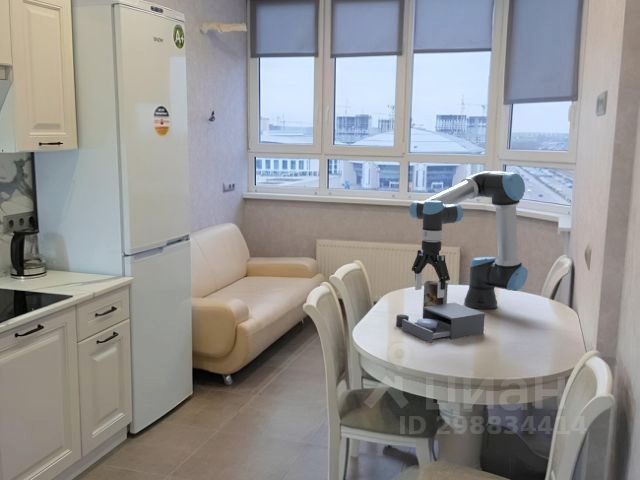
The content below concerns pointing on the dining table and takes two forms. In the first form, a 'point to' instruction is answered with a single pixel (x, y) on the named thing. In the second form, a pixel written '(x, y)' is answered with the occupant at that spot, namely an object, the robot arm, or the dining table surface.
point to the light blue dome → (427, 323)
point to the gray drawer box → (457, 319)
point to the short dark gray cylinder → (399, 319)
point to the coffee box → (433, 294)
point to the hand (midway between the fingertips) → (429, 293)
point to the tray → (427, 330)
